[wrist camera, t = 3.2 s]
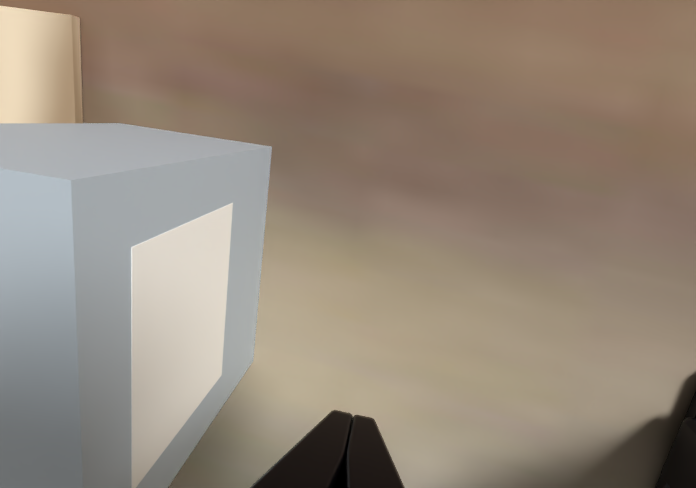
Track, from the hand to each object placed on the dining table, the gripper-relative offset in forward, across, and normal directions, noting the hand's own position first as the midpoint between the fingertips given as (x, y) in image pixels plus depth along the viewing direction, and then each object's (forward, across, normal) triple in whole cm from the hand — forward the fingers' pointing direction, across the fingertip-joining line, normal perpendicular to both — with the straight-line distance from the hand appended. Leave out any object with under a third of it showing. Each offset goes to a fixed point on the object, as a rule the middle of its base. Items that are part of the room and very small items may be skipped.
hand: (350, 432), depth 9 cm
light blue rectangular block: (+9, +8, 0) cm, 12 cm away
